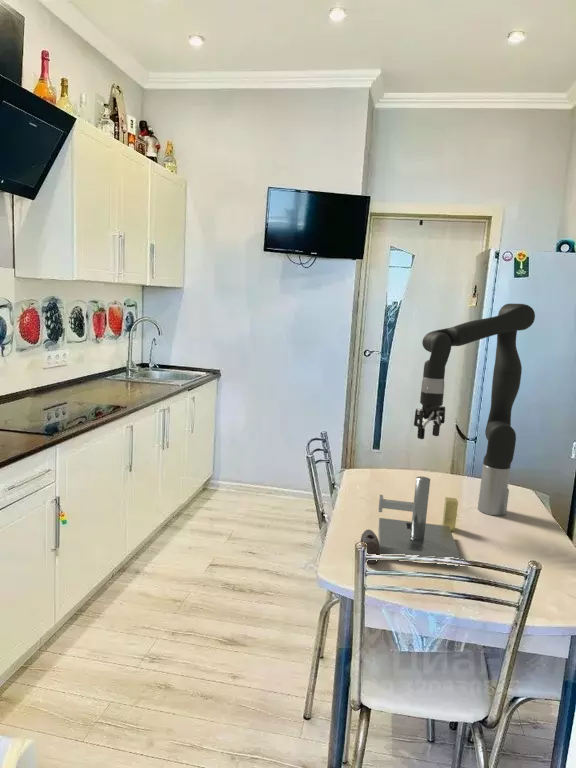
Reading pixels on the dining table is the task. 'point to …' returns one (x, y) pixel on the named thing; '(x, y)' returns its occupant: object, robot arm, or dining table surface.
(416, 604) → the dining table surface
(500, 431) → the robot arm
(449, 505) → the yellow rectangular block
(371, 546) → the perforated stone tool
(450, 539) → the rosette post
